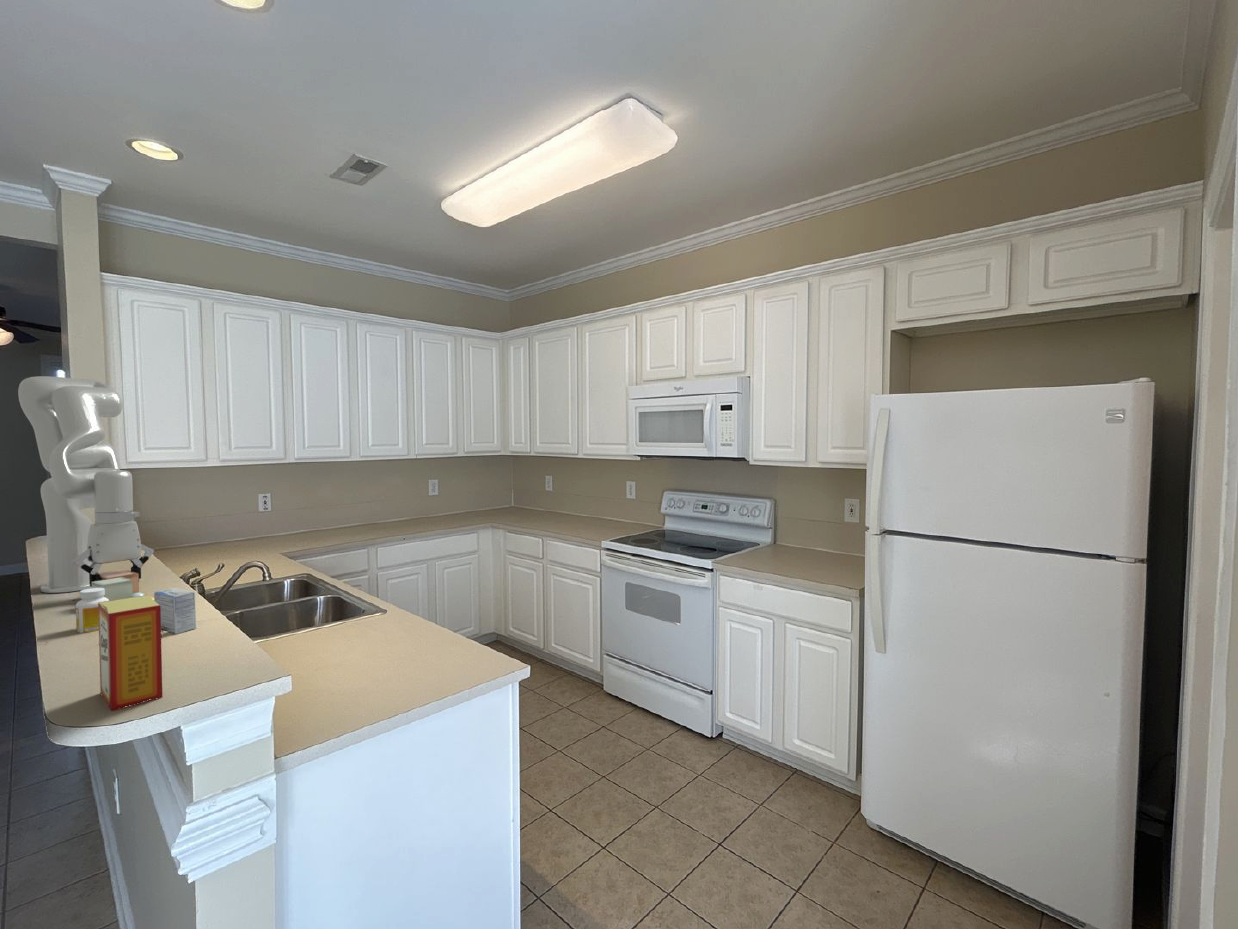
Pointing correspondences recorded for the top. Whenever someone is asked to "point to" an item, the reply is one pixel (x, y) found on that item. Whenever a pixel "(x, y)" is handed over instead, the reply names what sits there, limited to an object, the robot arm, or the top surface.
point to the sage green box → (115, 588)
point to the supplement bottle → (89, 609)
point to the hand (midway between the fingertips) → (116, 585)
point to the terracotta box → (125, 574)
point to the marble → (137, 594)
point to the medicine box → (177, 609)
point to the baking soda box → (130, 651)
